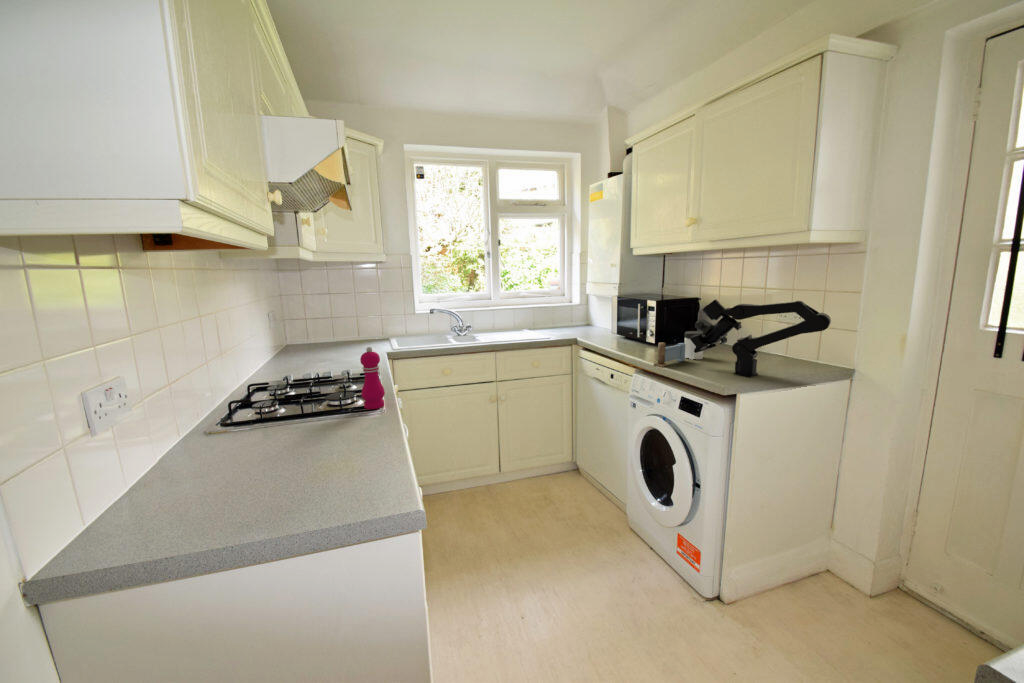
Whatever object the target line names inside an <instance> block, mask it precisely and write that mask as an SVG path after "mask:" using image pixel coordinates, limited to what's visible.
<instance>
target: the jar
mask: <svg viewBox="0 0 1024 683" xmlns="http://www.w3.org/2000/svg"><path fill="white" fill-rule="evenodd" d="M702 332H703V331H700V330H698V331H697V330H688V331H685V332H684V343H685V359H686V358H689V359H688V360H693V359H696V360H703V359H704V351H701V352H698V353H695V352H694V350H695V348H696V346H695V345H694V344H693V342H692V341H691V340H690V338H691V337H692V336H693V335H697V334H699V335H701V336H702V337H703V336H705V335H703V334H702Z"/></svg>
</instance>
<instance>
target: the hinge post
mask: <svg viewBox="0 0 1024 683" xmlns="http://www.w3.org/2000/svg"><path fill="white" fill-rule="evenodd" d="M665 347H666V342H658V346H657V362H655V363H653V366H654V367H659V368H665V367H669V366H668V365H670V364H669V363H667V362H665ZM664 366H665V367H664Z"/></svg>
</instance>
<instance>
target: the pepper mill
mask: <svg viewBox="0 0 1024 683" xmlns="http://www.w3.org/2000/svg"><path fill="white" fill-rule="evenodd" d="M365 350H366V352H363V353H362V355H361V356H360V365H361V366H363V367H362V372H364V382H363V386H362V388H361V398H362V400H364V402H363V407H364V409H367V410H378V409H381V408H383V407H384V406H385V400H384V399H383V398H384V396H385V395H386V394H385V393H386V392H385V388H384V386H383V383H382V382H381V381H380V377H379V370H380V366H379V363H380V361H381V359H380V358H381V357H380V355H379V353H377V352H376V351H373V348H372V347H371V346H367V347H366V349H365Z"/></svg>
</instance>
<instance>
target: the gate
mask: <svg viewBox="0 0 1024 683" xmlns="http://www.w3.org/2000/svg"><path fill="white" fill-rule="evenodd" d="M685 359H686V358H685V342H679V343H677V344H675V345H671V346H665V363H667V362H671V361H674V360H676V361H678V362H684V361H685Z"/></svg>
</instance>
